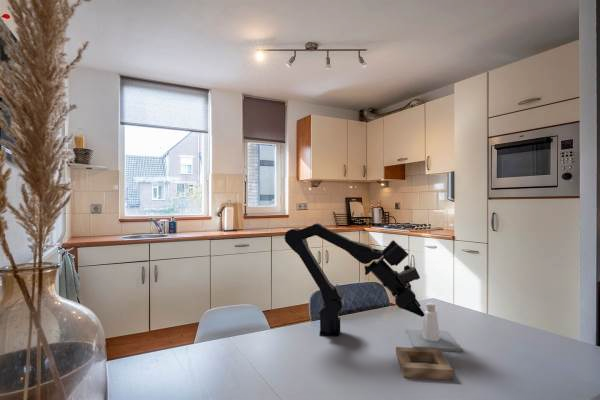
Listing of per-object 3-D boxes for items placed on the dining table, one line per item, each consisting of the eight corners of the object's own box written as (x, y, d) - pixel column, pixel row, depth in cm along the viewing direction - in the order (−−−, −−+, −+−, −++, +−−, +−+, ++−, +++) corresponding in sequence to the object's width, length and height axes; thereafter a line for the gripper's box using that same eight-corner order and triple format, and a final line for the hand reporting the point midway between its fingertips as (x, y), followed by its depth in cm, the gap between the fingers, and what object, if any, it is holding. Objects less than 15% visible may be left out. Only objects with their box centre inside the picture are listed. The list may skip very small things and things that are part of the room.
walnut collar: (403, 376, 83) (403, 367, 83) (395, 355, 95) (395, 346, 95) (452, 380, 82) (452, 369, 82) (439, 357, 93) (439, 348, 94)
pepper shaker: (437, 335, 108) (437, 301, 108) (442, 342, 102) (441, 306, 102) (420, 334, 108) (419, 301, 109) (424, 341, 103) (423, 306, 103)
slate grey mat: (413, 349, 99) (413, 346, 99) (405, 331, 113) (405, 329, 113) (462, 351, 97) (462, 348, 97) (447, 333, 111) (447, 330, 111)
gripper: (407, 263, 98) (446, 303, 96) (401, 254, 117) (434, 287, 114) (380, 288, 100) (418, 327, 97) (379, 275, 118) (411, 308, 116)
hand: (421, 311), depth 106 cm, fingers open, 9 cm apart
